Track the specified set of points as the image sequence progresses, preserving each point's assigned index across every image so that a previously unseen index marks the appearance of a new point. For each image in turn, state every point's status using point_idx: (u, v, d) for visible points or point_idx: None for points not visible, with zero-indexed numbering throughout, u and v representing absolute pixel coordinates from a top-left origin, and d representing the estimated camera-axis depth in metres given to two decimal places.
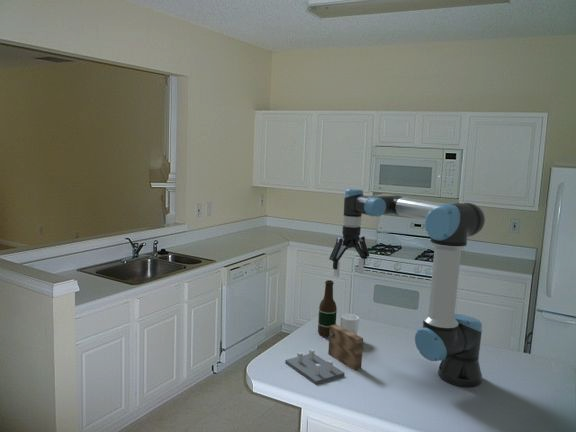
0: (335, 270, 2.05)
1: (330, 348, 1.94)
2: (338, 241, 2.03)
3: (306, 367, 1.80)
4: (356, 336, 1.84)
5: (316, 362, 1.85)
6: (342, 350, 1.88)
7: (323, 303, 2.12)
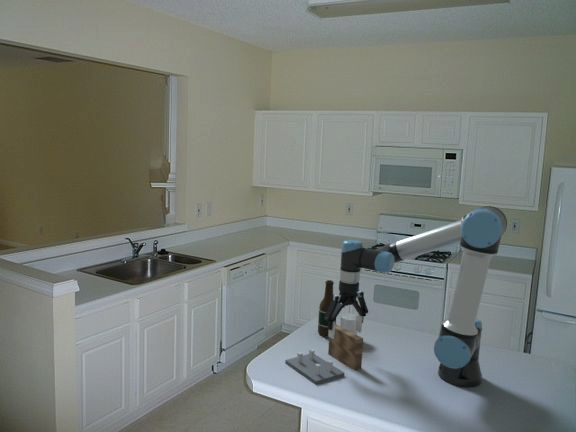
0: (330, 330, 1.84)
1: (330, 348, 1.94)
2: (334, 299, 1.82)
3: (306, 367, 1.80)
4: (356, 336, 1.84)
5: (316, 362, 1.85)
6: (341, 350, 1.88)
7: (323, 303, 2.12)
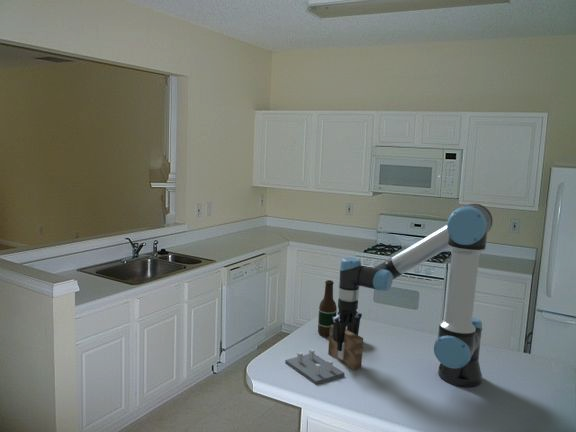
0: (339, 351, 1.88)
1: (330, 348, 1.94)
2: (334, 322, 1.84)
3: (306, 367, 1.80)
4: (356, 336, 1.84)
5: (316, 362, 1.85)
6: None
7: (323, 303, 2.12)
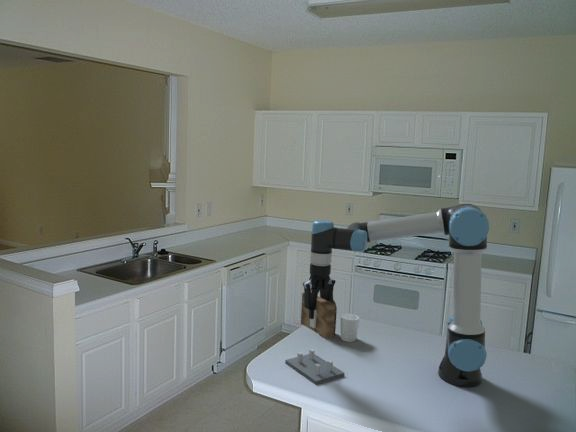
0: (311, 319, 1.78)
1: (302, 317, 1.84)
2: (305, 287, 1.74)
3: (306, 367, 1.80)
4: (328, 302, 1.74)
5: (316, 362, 1.85)
6: None
7: None
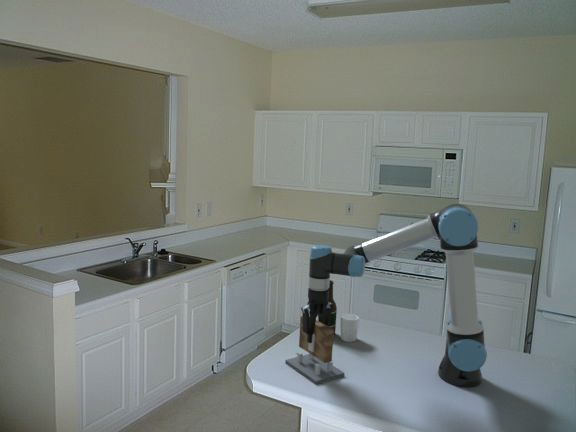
0: (310, 343, 1.79)
1: (301, 340, 1.85)
2: (304, 312, 1.75)
3: (306, 367, 1.80)
4: (326, 327, 1.75)
5: (316, 362, 1.85)
6: None
7: None
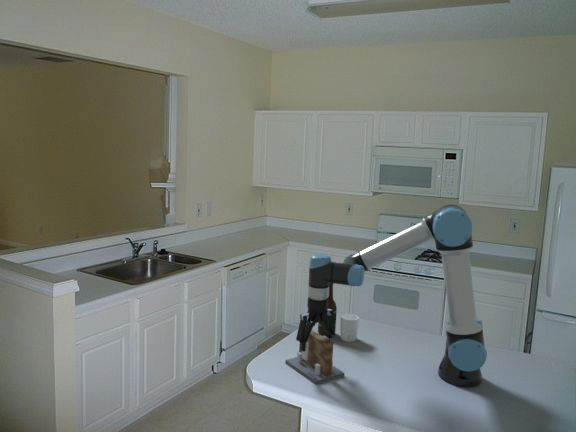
0: (303, 352, 1.78)
1: None
2: (302, 319, 1.75)
3: (306, 367, 1.80)
4: (326, 340, 1.75)
5: None
6: (312, 354, 1.80)
7: None
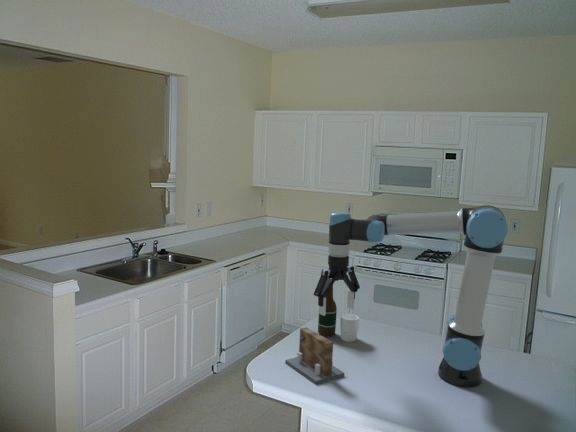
0: (321, 307, 1.77)
1: None
2: (323, 274, 1.75)
3: (306, 367, 1.80)
4: (326, 340, 1.75)
5: None
6: (311, 354, 1.80)
7: None
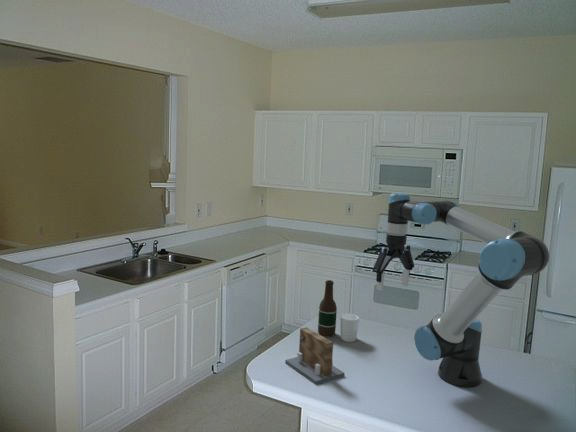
0: (379, 283, 1.86)
1: None
2: (382, 251, 1.84)
3: (306, 367, 1.80)
4: (326, 340, 1.75)
5: None
6: (311, 354, 1.80)
7: (323, 303, 2.12)
